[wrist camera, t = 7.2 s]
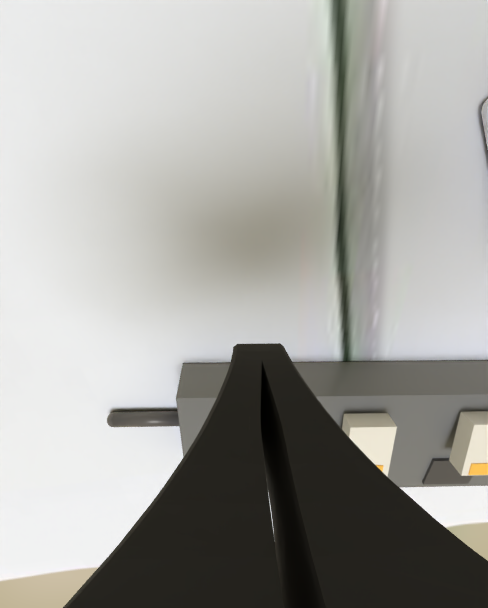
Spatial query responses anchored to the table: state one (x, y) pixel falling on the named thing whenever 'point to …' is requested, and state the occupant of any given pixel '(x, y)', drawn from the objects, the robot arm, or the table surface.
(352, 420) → the rocker
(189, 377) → the power strip
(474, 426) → the rocker
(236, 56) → the table surface
